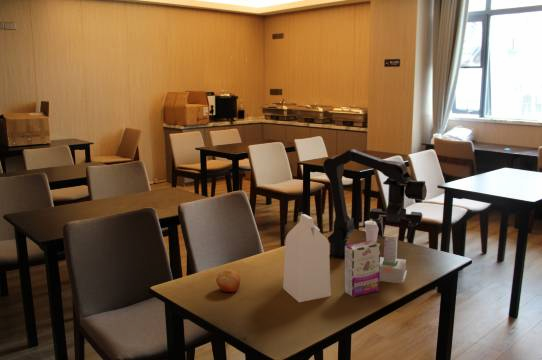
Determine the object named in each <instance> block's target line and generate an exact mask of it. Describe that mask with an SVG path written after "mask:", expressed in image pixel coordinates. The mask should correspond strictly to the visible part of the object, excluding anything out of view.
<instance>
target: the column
mask: <svg viewBox="0 0 542 360" xmlns="http://www.w3.org/2000/svg"><path fill="white" fill-rule="evenodd" d="M398 241H399V240H398V237H396V236H385V237H384V241H383V242H384V244H383V247H384V248H383V257H384V261H383V264H384V265H391V266H396V263H397V259H398Z"/></svg>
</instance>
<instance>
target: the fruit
mask: <svg viewBox="0 0 542 360" xmlns="http://www.w3.org/2000/svg"><path fill="white" fill-rule="evenodd" d="M215 282H216V284H217V286H218V288H219V289H220V290H221V292H226V293H235V292H237V291H239V288H240V285H241V276H240V274H239V273H238V270H236V269H234V268H227V269H226V268H225V269H223V270H222V271H220V272H219V273H218V275H217V276H216V278H215Z"/></svg>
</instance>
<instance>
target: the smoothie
mask: <svg viewBox="0 0 542 360" xmlns="http://www.w3.org/2000/svg"><path fill="white" fill-rule="evenodd" d="M363 224H364V226H365V238H366V241H374V242H376V243H377V241H378V233H379V228H378V226H377V223H376V222H375V221H372V220H366V221H364V223H363Z"/></svg>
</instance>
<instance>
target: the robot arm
mask: <svg viewBox="0 0 542 360" xmlns="http://www.w3.org/2000/svg"><path fill="white" fill-rule="evenodd" d="M350 162H354V163H355V164H360V165H362V166H365V167H366V168H370V169H374V170H376V171H378V172H380V173H382V174H383V175H384V176H385V177H387V179H386V180H385V181H383V182H382V184H383V185H387V186H388V195H387V196H388V197H387V198H388V199H387V206H386V211H383V209H382V208H375V207H373V208H371V210H370V211H369V212H368V219H369V220H370V219H371V221H375V222H376V223H377V226H378V228H379V229H378V232H379V233H380V234H379V235H380V236H381V238H383V237H384V223H383V222H384V221H383V220H384V218H385V220H386V221H387V222H394V223H399V222H401V219H403V220H409V221H408V227H407V231H406V240H409V237H410V235H411V231H412V230H413V227H414V226H417V225H418V224H422V221H423V213H422V212H421V211H420V212H419V211H411V212H410V213H407V209H406V208H405V198H407V199H409V200H418V201H425V200H426V198H427V192H428V191H427V185H426V180H414V178H413V177H412V175H411V174H410V173H409V171H408V166H407V165H406V163H404V162H401V161H397V160H385V159H382V158H379V157H376V156H373V155H371V154H367V153H366V152H365V153H364V152H362V151H359V150H357V149H356V148H351V149H348V150H346V151H345V152H343V153H342V154H340V155H335V156H332V157H328V158H326V159H325V160H324V162H323V164H322V165H323V170H324V173H325V176H326V177H327V179H328V180H329V184H330V190H331V196H332V197H331V198H332V203H333V210H334V216H335V217H334V223H333V232H332V233H331V234H330V235H329V236H328V237H327V240H328V242H329V258H335V259H342V260H343V259H344V260H345V246H347V245H349V243H348V240H349V237H350V236H351V235H352V234H353V233H354V230H355V228H356V226H355V224H354V217H351V218H350V217H349V214H348V211H347V210H348V209H347V204H346V196H345V191H344V185H343V184H344V183H343V175H344V170H345V168H344V167H345V165H346V164H349V163H350Z"/></svg>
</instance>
